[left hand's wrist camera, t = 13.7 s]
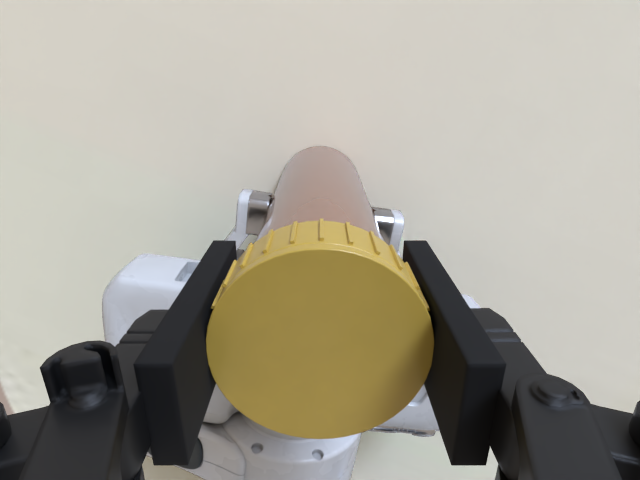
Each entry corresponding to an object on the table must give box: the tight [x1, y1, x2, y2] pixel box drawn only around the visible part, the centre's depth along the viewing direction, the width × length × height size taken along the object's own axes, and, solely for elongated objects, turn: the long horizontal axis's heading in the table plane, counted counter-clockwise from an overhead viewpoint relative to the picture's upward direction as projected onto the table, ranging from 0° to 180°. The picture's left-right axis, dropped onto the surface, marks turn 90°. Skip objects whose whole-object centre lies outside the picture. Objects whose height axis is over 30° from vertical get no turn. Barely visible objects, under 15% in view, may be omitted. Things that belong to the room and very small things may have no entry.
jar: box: [255, 146, 385, 242], centre depth 19 cm, size 5×5×17 cm
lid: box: [206, 219, 434, 439], centre depth 11 cm, size 6×6×2 cm
